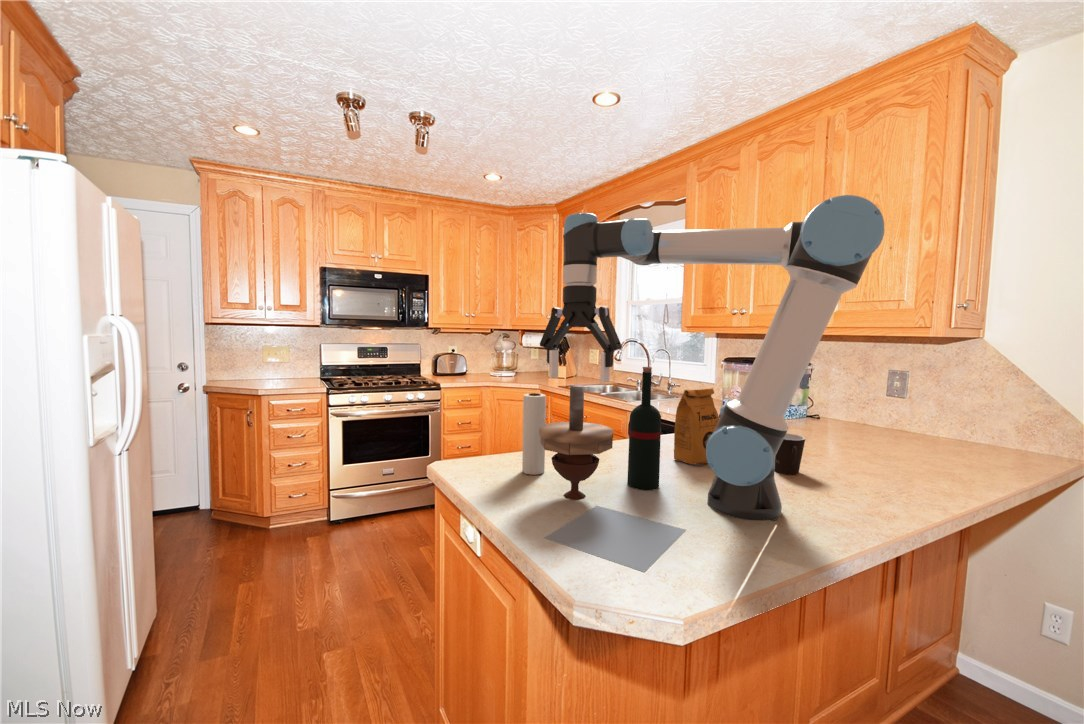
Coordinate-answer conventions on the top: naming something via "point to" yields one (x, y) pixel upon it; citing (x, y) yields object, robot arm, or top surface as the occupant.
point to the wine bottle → (644, 440)
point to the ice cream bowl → (575, 471)
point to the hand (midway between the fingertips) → (578, 379)
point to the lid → (576, 431)
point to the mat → (618, 537)
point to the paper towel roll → (533, 433)
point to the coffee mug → (789, 454)
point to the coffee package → (694, 425)
